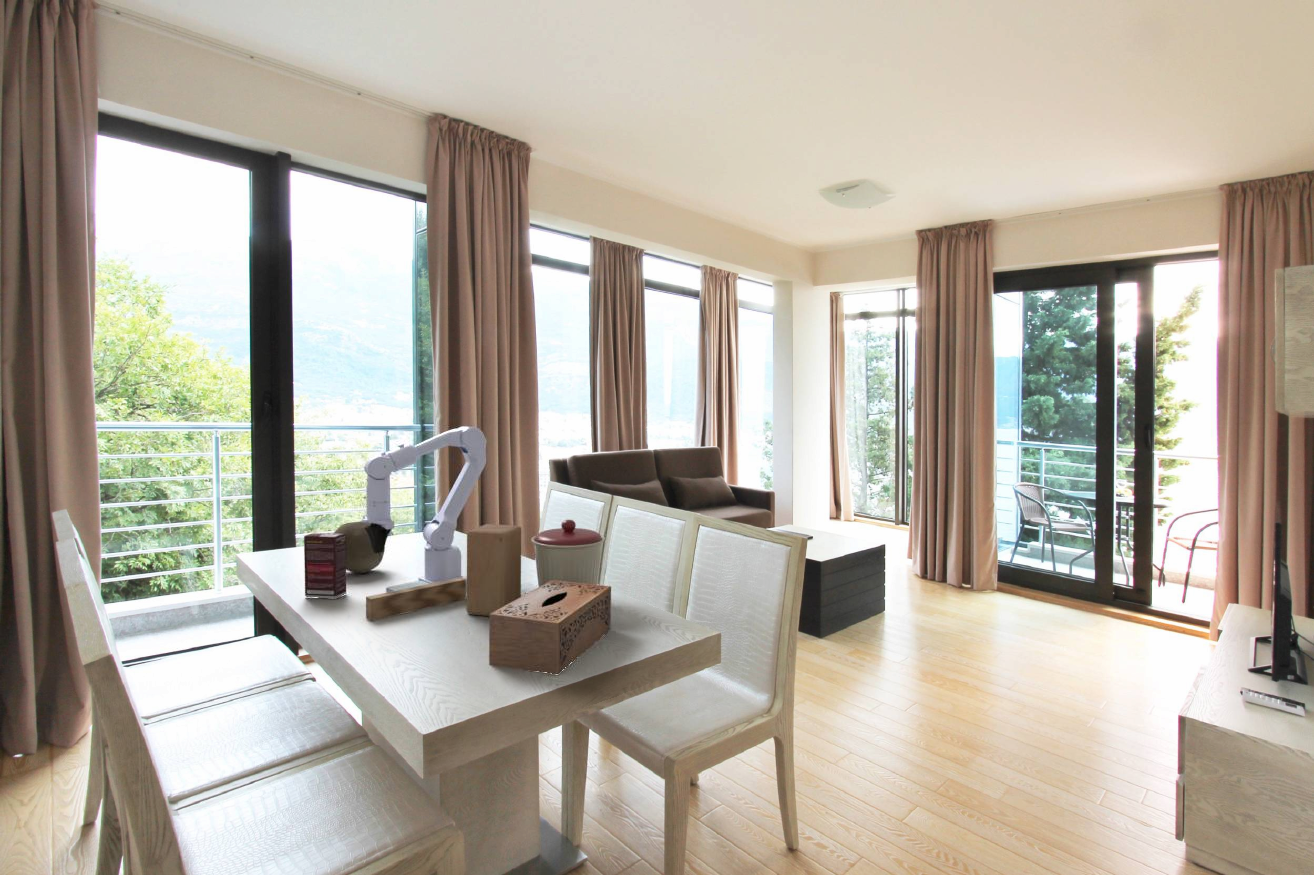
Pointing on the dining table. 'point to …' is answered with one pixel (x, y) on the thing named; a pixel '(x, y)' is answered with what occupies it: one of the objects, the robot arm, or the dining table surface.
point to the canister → (568, 554)
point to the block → (405, 586)
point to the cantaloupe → (359, 548)
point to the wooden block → (493, 567)
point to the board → (415, 598)
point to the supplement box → (325, 565)
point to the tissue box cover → (549, 626)
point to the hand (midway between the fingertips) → (378, 552)
